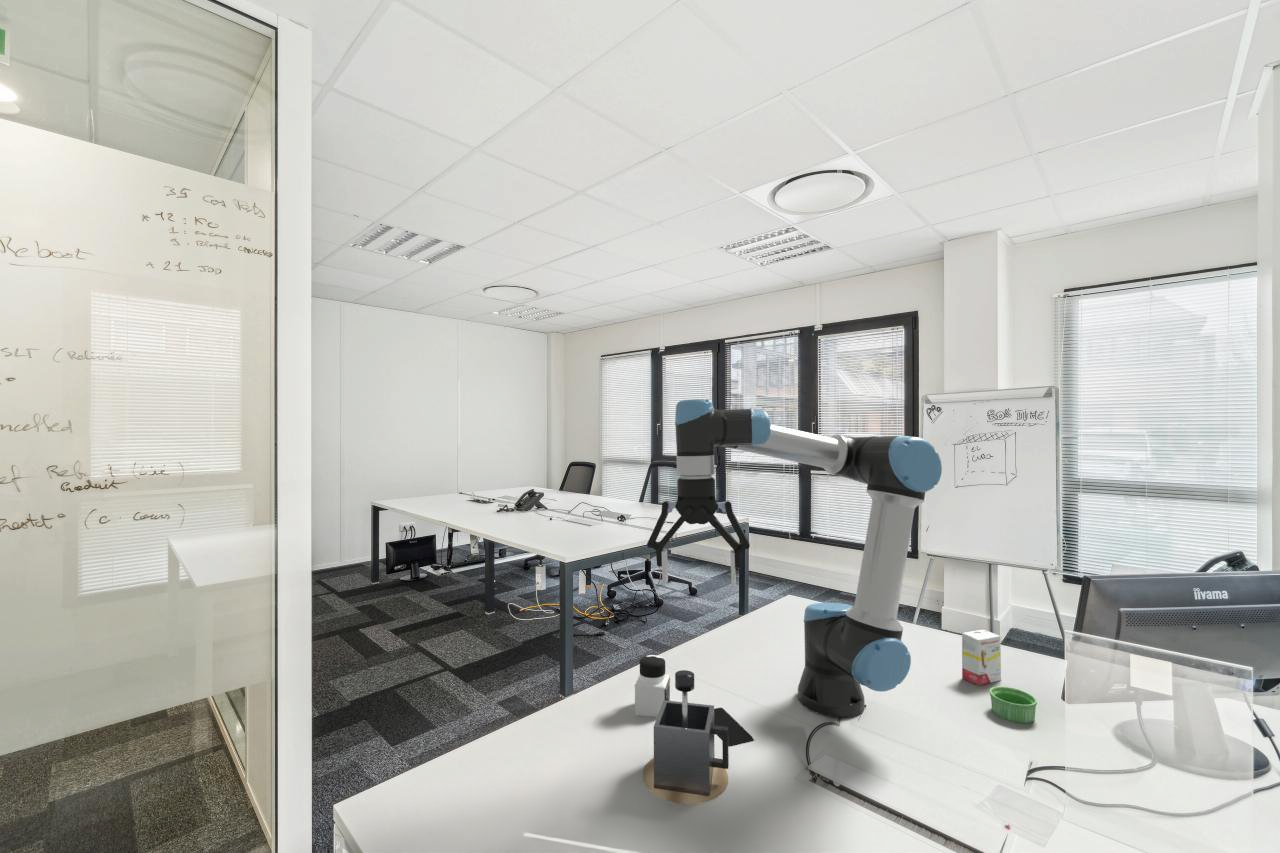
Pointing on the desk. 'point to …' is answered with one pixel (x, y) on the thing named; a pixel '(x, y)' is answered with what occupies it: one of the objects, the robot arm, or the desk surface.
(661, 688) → the medicine bottle
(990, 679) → the ink box
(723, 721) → the smartphone
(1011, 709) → the ramekin
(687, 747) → the press body
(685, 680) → the plunger
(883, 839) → the desk surface
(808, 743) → the desk surface
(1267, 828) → the desk surface
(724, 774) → the coaster
